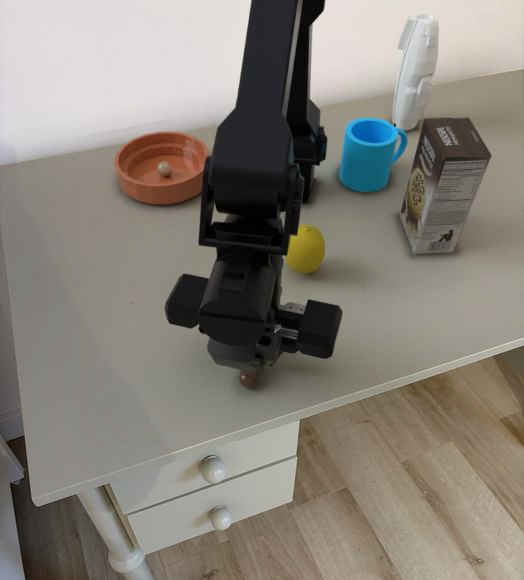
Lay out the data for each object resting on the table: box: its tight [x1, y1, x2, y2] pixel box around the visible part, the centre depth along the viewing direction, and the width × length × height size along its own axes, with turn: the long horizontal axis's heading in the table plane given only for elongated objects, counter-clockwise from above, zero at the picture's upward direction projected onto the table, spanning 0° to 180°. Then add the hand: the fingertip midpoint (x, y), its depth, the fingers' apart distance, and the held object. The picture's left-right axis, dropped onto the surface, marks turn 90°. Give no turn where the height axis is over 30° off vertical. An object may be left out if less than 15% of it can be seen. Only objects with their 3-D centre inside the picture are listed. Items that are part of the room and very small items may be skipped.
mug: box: [338, 117, 408, 193], centre depth 86 cm, size 12×8×8 cm
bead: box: [157, 161, 172, 177], centre depth 87 cm, size 2×2×2 cm
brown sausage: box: [238, 368, 261, 389], centre depth 64 cm, size 8×2×2 cm, turn 164°
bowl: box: [113, 130, 211, 205], centre depth 87 cm, size 15×15×4 cm
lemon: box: [284, 224, 326, 275], centre depth 72 cm, size 6×6×8 cm
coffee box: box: [399, 117, 493, 255], centre depth 74 cm, size 9×6×16 cm
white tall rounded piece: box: [391, 11, 440, 132], centre depth 92 cm, size 7×18×7 cm
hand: (254, 359), depth 64 cm, fingers open, 4 cm apart
